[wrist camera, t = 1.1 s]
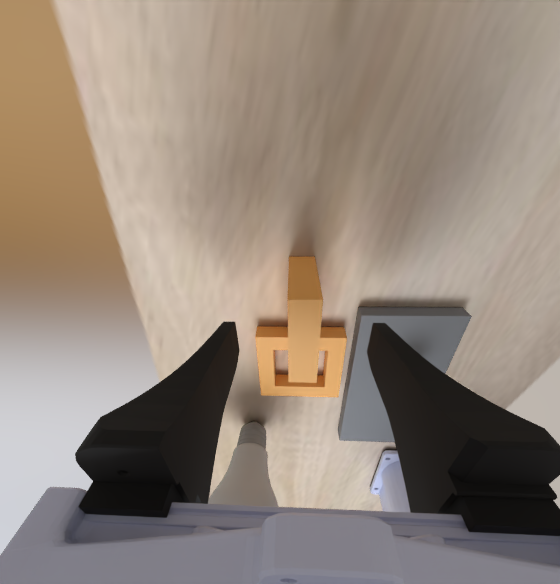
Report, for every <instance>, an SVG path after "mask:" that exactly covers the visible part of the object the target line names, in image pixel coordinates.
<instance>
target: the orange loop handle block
mask: <svg viewBox="0 0 560 584" xmlns="http://www.w3.org/2000/svg"><path fill="white" fill-rule="evenodd" d="M322 306H323V297H322V292H321V287H320V282H319V276H318V271H317V266H316V261H315V256H314V257H289V274H288V327H267V326H257V331H256V337H255V338H256V348H257V358H258V368H259V379H260V389H261V395H265V396H308V397H338V395H339V389H340V382H341V375H342V368H343V362H344V355H345V348H346V342H347V336H346V333H345V329H344V327H321V319H322ZM275 350H288V375H279V374H276V368H275ZM319 351H325V359H324V370H323V375H317V372H318V359H319Z"/></svg>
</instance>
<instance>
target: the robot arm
mask: <svg viewBox="0 0 560 584" xmlns="http://www.w3.org/2000/svg"><path fill="white" fill-rule="evenodd" d="M367 355H368V360H369V364H370V368H371V371H372V374H373V377H374V380H375V382H376V385H377V388H378V390H379V393H380V396H381V398H382V401H383V403H384V406H385V409H386V412H387V415H388V418H389V421H390V425H391V428H392V432H393V436H394V440H395V444H396V448H397V451H395V450H386V451H384V452H383V454H382V457H381V459H380V462H379V465H378V468H377V471H376V473H375V476H374V479H373V482H372V485H371V487H370V492H371V493H372V494H379V496H380V501H381V505H382V509H383V511H362V510H339V509H316V508H293V507H270V506H247V505H224V504H208V499H209V492H210V485H211V478H212V472H213V466H214V460H215V454H216V448H217V443H218V437H219V432H220V427H221V422H222V416H223V412H224V408H225V405H226V401H227V398H228V395H229V391H230V388H231V385H232V381H233V378H234V374H235V371H236V367H237V362H238V356H239V345H238V338H237V331H236V325H235V322H223V323H222V324H221V325H220V326H219V328H218V329H217V330H216V331H215V332H214V333H213V334H212V336H211V337H210V338H209V339H208V340H207V341H206V342H205V343H204V344H203V345H202V346H201V347H200V348H199V350H198V351H196V352H195V353H194V354H193V355H192V356H191V357H190V358H189V359H188V360H187V361H186V362H185V363H184V364H183V365H182V366H180V367H179V368H178V369H177V370H176V371H174V372H173V373H172V374H171V375H169V376H168V377H167V378H165V379H164V380H162V381H161V382H160V383H158V384H157V385H155V386H154V387H152V388H151V389H149V390H148V391H146V392H145V393H143V394H142V395H140V396H138V397H137V398H135V399H133V400H132V401H130V402H128V403H126V404H125V405H123V406H121V407H119V408H117V409H115V410H113V411H112V412H110V413H108V414H106V415H104V416H102V417H100V419H99V420H98V421H97V423H96V424H95V425H94V427H93V428H92V430H91V431H90V433H89V434H88V435H87V437H86V438H85V440H84V441H83V443H82V444H81V446H80V447H79V449H78V450H77V452H76V454H75V456H76V461H77V463H78V464H79V466H80V467H81V468H82V469H83V470H84V471H85V472H86V474H87V475H88V476H89V477H90V478H91V479H92V480H93V483H92V484H91V486H90V488H89V490H88V491H86V490H83V489H80V488H64V487H50V488H48V489H47V490H46V492H45V493H44V494H43V496H42V497H41V498H40V500H39V501H38V503H37V504H36V506H35V507H34V508H33V510H32V511H31V513H30V514H29V515H28V517H27V518H26V520H25V521H24V523H23V524H22V525H21V527H20V528H19V530H18V531H17V532H16V534H15V535H14V537H13V538H12V540H11V541H10V542H9V544H8V546H7V547H6V548H5V550H4V551H3V553H2V554H1V555H0V584H560V509H559V508H558V506H557V505H556V503H555V502H554V501H553V500H555V499H556V498H557V495H556V494H555V492H554V491H553V490H552V488H551V487H550V486H549V483H551V482H552V481H553V480H554V479H555V478H557V477H558V476H559V475H560V445H559V444H558V443H557V442H556V441H555V440H554V438H553V437H552V436H551V435H550V434H549V433H548V432H547V431H546V430H545V429H544V428H542V427H540V426H538V425H536V424H534V423H532V422H529V421H527V420H525V419H523V418H521V417H519V416H517V415H514V414H513V413H510V412H509V411H507V410H505V409H503V408H501V407H499V406H497V405H495V404H493V403H492V402H490V401H488V400H486V399H484V398H483V397H481V396H479V395H477V394H476V393H474V392H472V391H471V390H469V389H467V388H466V387H464V386H463V385H461V384H459V383H458V382H456V381H455V380H453V379H452V378H450V377H449V376H448V375H446V374H445V373H443V372H442V371H440V370H439V369H438V368H436V367H435V366H434V365H432V364H431V363H430V362H429V361H427V360H426V359H425V358H424V357H422V356H421V355H420V354H419V353H418V352H416V351H415V350H414V349H413V348H412V347H411V346H410V345H408V344H407V343H406V342H405V341H404V340H403V339H402V338H401V337H400V336H399V335H398V334H397V333H395V332H394V331H393V330H392V329H391V328H390V327H389V326H388V325H387V324H386V323H373V325H372V329H371V334H370V339H369V344H368V348H367Z"/></svg>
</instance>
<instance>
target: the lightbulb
mask: <svg viewBox="0 0 560 584" xmlns="http://www.w3.org/2000/svg"><path fill="white" fill-rule="evenodd" d="M267 458H268V455H267V451H266V430H265V428H264V427H263V426H262V425H260V424H259V423H258V422H251V423H248V424H245V425H244V426H243V427H242V428H241V432H240V436H239V440H238V445H237V447H236V448H235V449H234V452H233V456H232V460H231V462H230V465H229V468H228V470H227V472H226V474H225V476H224V477H223V479H222V481H221V482H220V484H219V485H218V486H217V488H216V489H215V490H214V492H213V493H212V495H211V496H210V498H209V499H208V504H224V505H247V506H270V507H278V503H277V500H276V497H275V495H274V492H273V490H272V487H271V484H270V479H269V475H268V465H267Z"/></svg>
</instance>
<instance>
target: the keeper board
mask: <svg viewBox="0 0 560 584" xmlns="http://www.w3.org/2000/svg"><path fill="white" fill-rule="evenodd" d="M471 317H472V316H471V315H470V314H469V313H468V312H467V311H466V310H465V309H464V308H448V307H358V312H357V318H356V324H355V330H354V337H353V343H352V349H351V355H350V361H349V367H348V373H347V379H346V385H345V391H344V397H343V403H342V409H341V415H340V421H339V427H338V434H339V440H343V441H374V442H395V440H394V436H393V432H392V428H391V425H390V421H389V418H388V415H387V412H386V409H385V406H384V403H383V401H382V398H381V396H380V393H379V390H378V388H377V385H376V382H375V380H374V377H373V374H372V371H371V368H370V364H369V360H368V355H367V348H368V344H369V339H370V334H371V329H372V325H373V323H386V324H387V325H388V326H389V327H390V328H391V329H392V330H393V331H394V332H395V333H397V334H398V335H399V336H400V337H401V338H402V339H403V340H404V341H405V342H406V343H407V344H408V345H410V346H411V347H412V348H413V349H414V350H415V351H416V352H418V353H419V354H420V355H421V356H422V357H424V358H425V359H426V360H427V361H429V362H430V363H431V364H432V365H434V366H435V367H436V368H438V369H439V370H440V371H442V372H443V373H446V371H447V369H448V367H449V364H450V362H451V360H452V358H453V356H454V353H455V351H456V349H457V347H458V345H459V343H460V340H461V338H462V336H463V334H464V332H465V330H466V327H467V325H468V323H469V321H470V319H471Z"/></svg>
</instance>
